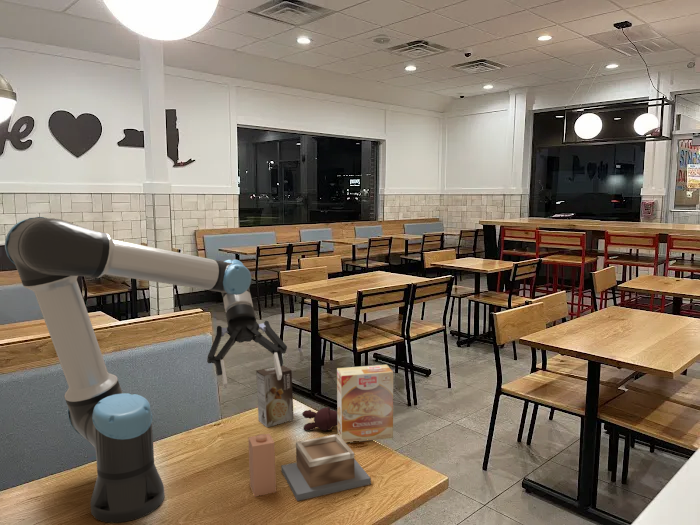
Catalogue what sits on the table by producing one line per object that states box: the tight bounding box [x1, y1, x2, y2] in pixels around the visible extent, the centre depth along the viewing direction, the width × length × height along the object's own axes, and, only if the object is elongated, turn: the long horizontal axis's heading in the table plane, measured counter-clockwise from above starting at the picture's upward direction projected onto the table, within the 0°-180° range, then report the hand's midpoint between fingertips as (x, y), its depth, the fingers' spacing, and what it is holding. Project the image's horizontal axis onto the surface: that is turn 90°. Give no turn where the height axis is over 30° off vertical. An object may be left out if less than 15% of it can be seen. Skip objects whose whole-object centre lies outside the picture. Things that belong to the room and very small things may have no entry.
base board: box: [280, 458, 372, 502], centre depth 127 cm, size 18×14×2 cm
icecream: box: [301, 406, 337, 432], centre depth 153 cm, size 7×7×15 cm
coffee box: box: [255, 364, 295, 428], centre depth 159 cm, size 9×6×16 cm
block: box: [247, 433, 277, 497], centre depth 122 cm, size 5×5×13 cm
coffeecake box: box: [336, 364, 394, 444], centre depth 148 cm, size 15×7×20 cm, turn 102°
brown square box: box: [295, 433, 355, 488], centre depth 127 cm, size 11×11×6 cm
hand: (253, 381), depth 130 cm, fingers open, 13 cm apart
